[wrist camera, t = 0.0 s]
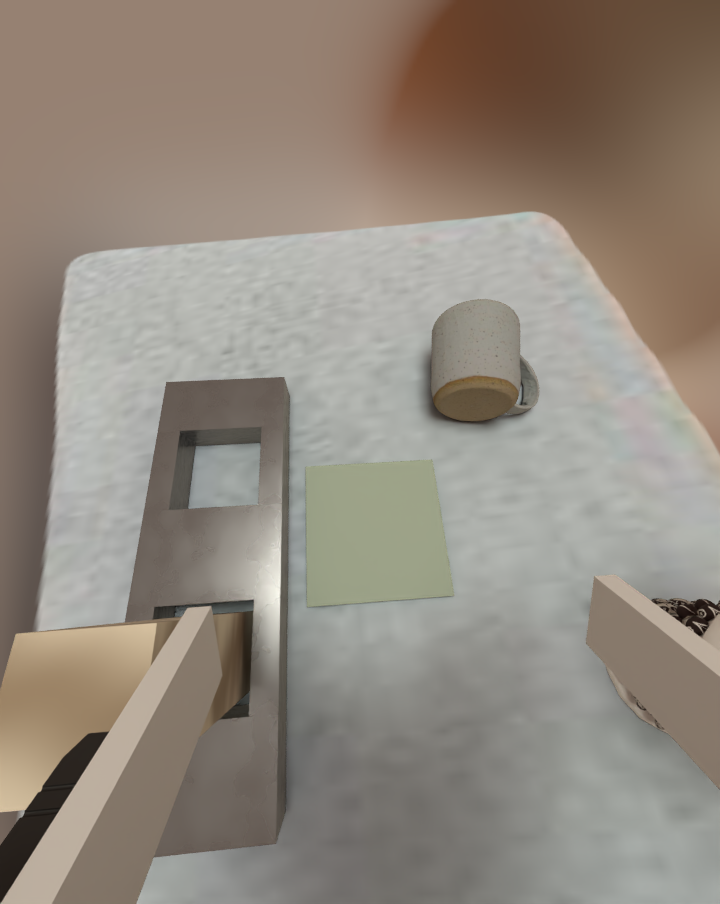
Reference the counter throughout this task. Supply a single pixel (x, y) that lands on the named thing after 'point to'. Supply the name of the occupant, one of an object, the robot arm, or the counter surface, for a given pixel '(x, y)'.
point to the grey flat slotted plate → (224, 580)
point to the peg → (92, 690)
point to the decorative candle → (698, 616)
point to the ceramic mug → (480, 362)
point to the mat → (374, 534)
